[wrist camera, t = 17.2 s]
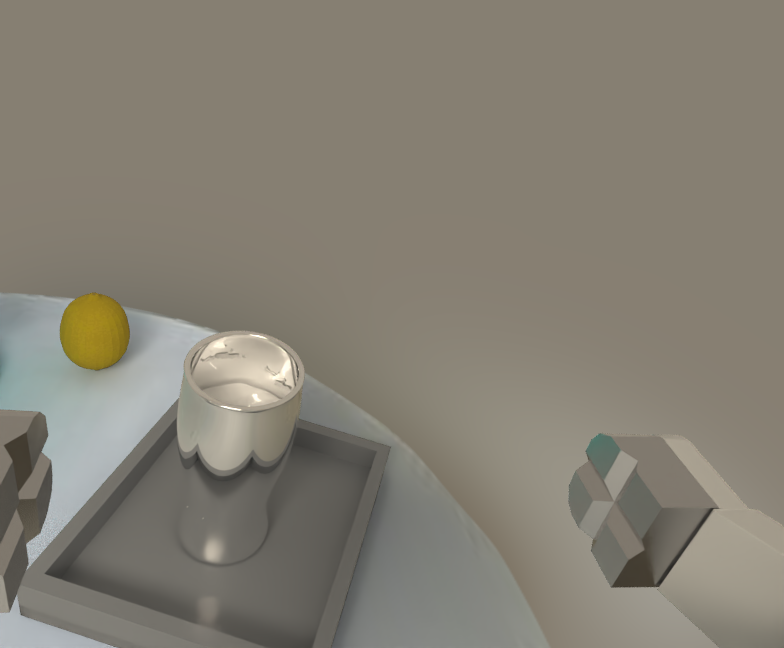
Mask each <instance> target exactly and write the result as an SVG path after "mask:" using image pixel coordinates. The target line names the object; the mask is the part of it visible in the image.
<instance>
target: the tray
mask: <svg viewBox="0 0 784 648" xmlns="http://www.w3.org/2000/svg"><path fill="white" fill-rule="evenodd" d="M178 402H179V398H178V399H177V401H176V402H175V403H174V404H173V405H172V406H171V407H170V408H169V410H168V411H167V412H166V413H165V414H164V415H163V416H162V418H161V419H160V420H159V421H158V422H157V423H156V424H155V425H154V427H153V428H152V429H151V430H150V431H149V432H148V433H147V435H146V436H145V437H144V438H143V439H142V440H141V441H140V442H139V444H138V445H137V446H136V447H135V448H134V449H133V450H132V452H131V453H130V454H129V455H128V456H127V457H126V458H125V459H124V461H123V462H122V463H121V464H120V465H119V466H118V467H117V469H116V470H115V471H114V472H113V473H112V474H111V475H110V476H109V478H108V479H107V480H106V481H105V482H104V483H103V484H102V486H101V487H100V488H99V489H98V490H97V491H96V492H95V493H94V495H93V496H92V497H91V498H90V499H89V500H88V501H87V503H86V504H85V505H84V506H83V507H82V508H81V509H80V510H79V512H78V513H77V514H76V515H75V516H74V517H73V518H72V520H71V521H70V522H69V523H68V524H67V525H66V526H65V527H64V529H63V530H62V531H61V532H60V533H59V534H58V535H57V537H56V538H55V539H54V540H53V541H52V542H51V543H50V544H49V546H48V547H47V548H46V549H45V550H44V551H43V552H42V554H41V555H40V556H39V557H38V558H37V559H36V560H35V561H34V563H33V564H32V565H31V566H30V567H29V568H28V569H27V571H26V572H25V574H24V576H23V579H22V582H21V584H20V587H19V589H18V592H17V596H18V601H19V607H20V613H21V615H22V616H25V617H28V618H31V619H34V620H37V621H40V622H43V623H46V624H49V625H52V626H55V627H58V628H61V629H64V630H67V631H70V632H73V633H76V634H79V635H82V636H85V637H88V638H91V639H94V640H97V641H100V642H103V643H106V644H109V645H112V646H115V647H118V648H331V646H332V643H333V640H334V636H335V633H336V630H337V626H338V623H339V620H340V616H341V613H342V610H343V606H344V603H345V600H346V596H347V593H348V590H349V586H350V583H351V579H352V576H353V573H354V569H355V566H356V563H357V559H358V556H359V553H360V549H361V546H362V543H363V539H364V536H365V533H366V529H367V526H368V523H369V519H370V516H371V513H372V509H373V506H374V503H375V499H376V496H377V492H378V489H379V486H380V482H381V479H382V476H383V472H384V469H385V465H386V462H387V458H388V455H389V451H390V448H391V447H389V446H386V445H383V444H380V443H376V442H373V441H370V440H366V439H363V438H360V437H356V436H353V435H350V434H347V433H343V432H340V431H337V430H333V429H330V428H327V427H323V426H320V425H317V424H314V423H310V422H307V421H304V420H300V419H299V421H298V427H297V431H296V435H295V439H294V443H293V446H292V449H291V452H290V454H289V456H288V459H287V461H286V464H285V466H284V468H283V470H282V472H281V474H280V476H279V478H278V480H277V482H276V484H275V486H274V488H273V489H272V492H271V494H270V496H269V499H268V516H269V527H268V532H267V535H266V538H265V540H264V542H263V543H262V545H261V546H260V548H259V549H258V550H257V551H256V552H255V553H254V554H252V555H251V556H250V557H248V558H246V559H245V560H242V561H240V562H237V563H234V564H229V565H213V564H208V563H205V562H202V561H200V560H198V559H196V558H194V557H193V556H192V555H190V554H189V553H188V552H187V550H186V549H185V548H184V546H183V545H182V543H181V540H180V537H179V533H178V524H179V518H180V515H181V512H182V509H183V507H184V504H185V502H186V497H187V490H186V485H185V480H184V476H183V472H182V467H181V462H180V458H179V451H178V444H177V412H178Z"/></svg>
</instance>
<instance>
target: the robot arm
mask: <svg viewBox="0 0 784 648" xmlns="http://www.w3.org/2000/svg"><path fill="white" fill-rule="evenodd" d="M47 437H48V431H47V424H46V418H45V415H43V414H42V413H41V412H33V411H16V410H0V613H7V612H10V610H11V607H12V605H13V602H14V600H15V597H16V594H17V592H18V589H19V587H20V584H21V582H22V579H23V576H24V574H25V571H26V569H27V566H28V564H29V563H28V556H27V548H26V544H27V543H28V542H29V541H30V540H32V539H33V538H34V537H36V536H37V535H38V534H39V533H40V532H41V529H42V526H43V524H44V521H45V518H46V515H47V511H48V507H49V502H50V497H51V492H52V465H51V460H50V459H49V458H47V457H46V456H45V455H44V454H43V453H42V452H41V451H42V449H43V447H44V444H45V442H46V440H47ZM586 454H587V457H588V460H589V461H588V462H587V463H585V464H584V465H583V466H581V467H580V468H579V469H577V470H576V471H575V473H574V475H573V478H572V480H571V482H570V484H569V506H570V510H571V513H572V516H573V518H574V520H575V521H576V524H577V526H578V527H579V528H580V529H581V530H582V531H584V532H585V533H586V534H587V535H589V536H590V537H591V538H592V539H593V544H592V549H591V552H592V553H593V555H594V557H595V559H596V561H597V562H598V564H599V566H600V568H601V570H602V572H603V573H604V575H605V577H606V579H607V581H608V583H609V584H610V586H611V587H659V588H658V589H657V590H658V591H659V592H660V593H661V594H662V595H663V596H665V597H666V598H667V599H668V600H669V601H670V602H671V603H672V604H673V605H674V606H675V607H676V608H677V609H679V610H680V611H681V612H682V613H683V614H684V615H685V616H686V617H687V618H688V619H689V620H690V621H691V622H692V623H694V624H695V625H696V626H697V627H698V628H699V629H700V630H701V631H702V632H703V633H704V634H705V635H706V636H707V637H709V638H710V639H711V640H712V641H713V642H714V643H715V644H716V645H717V646H718V647H719V648H784V526H783V525H781V524H780V523H778V522H777V521H775V520H773V519H772V518H770V517H768V516H767V515H765V514H763V513H762V512H760V511H759V510H757V509H748V508H747V506H746V505H745V504H744V503H743V502H742V501H741V499H740V498H739V497H738V496H737V495H736V494H735V493H734V491H733V490H732V489H731V488H730V487H729V486H728V485H727V483H726V482H725V481H724V480H723V479H722V478H721V476H719V474H718V473H717V472H716V471H715V470H714V468H713V467H712V466H711V465H710V464H709V463H708V461H707V460H706V459H705V458H704V457H703V456H702V455H701V454H700V452H699V451H698V450H697V449H696V448H695V446H693V444H692V443H691V442H690V441H689V440H687V439H686V438H684V437H682V436H680V435H635V434H601V433H600V434H598V435H597V436H596V437H594V438H593V439H592V440H591V442H590V444H589V446H588V448H587V449H586Z"/></svg>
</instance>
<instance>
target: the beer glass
mask: <svg viewBox="0 0 784 648" xmlns="http://www.w3.org/2000/svg"><path fill="white" fill-rule="evenodd" d="M304 378H305V371H304V367H303V363H302V361H301V360H300V358H299V356H298V355H297V354H296V353H295V351H294V350H292V349H291V348H290V347H289V346H288V345H286V344H285V343H283V342H282V341H280V340H278V339H276V338H273V337H271V336H268V335H265V334H261V333H257V332H251V331H229V332H222V333H218V334H215V335H212V336H209V337H207V338H205V339H203V340H201V341H200V342H199V343H197V344H196V345H195V346H194V347H193V348H192V349H191V350H190V351H189V353H188V354H187V356H186V359H185V362H184V373H183V378H182V384H181V389H180V395H179V402H178V412H177V444H178V451H179V458H180V462H181V467H182V472H183V476H184V480H185V485H186V490H187V497H186V502H185V504H184V507H183V509H182V512H181V515H180V518H179V524H178V533H179V537H180V540H181V543H182V545H183V546H184V548H185V549H186V550H187V552H188V553H189V554H190V555H192V556H193V557H194V558H196V559H198V560H200V561H202V562H205V563H208V564H213V565H229V564H234V563H237V562H240V561H242V560H245V559H246V558H248V557H250V556H251V555H252V554H254V553H255V552H256V551H257V550H258V549H259V548H260V546H261V545H262V543H263V542H264V540H265V538H266V535H267V532H268V527H269V516H268V499H269V496H270V494H271V492H272V489H273V488H274V486H275V484H276V482H277V480H278V478H279V476H280V474H281V472H282V470H283V468H284V466H285V464H286V461H287V459H288V456H289V454H290V452H291V449H292V446H293V443H294V439H295V435H296V431H297V427H298V421H299V415H300V408H301V399H302V388H303V382H304Z"/></svg>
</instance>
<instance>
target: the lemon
mask: <svg viewBox="0 0 784 648" xmlns="http://www.w3.org/2000/svg"><path fill="white" fill-rule="evenodd" d="M129 337H130V331H129V324H128V320H127V316H126V314H125V312H124V310H123V308H122V307H121V306H120V305H119V304H118V302H116V301H115V300H114V299H112V298H110V297H108V296H105V295H102V294H97V293H90V294H87V295H83V296H81V297H78V298H77V299H75V300H74V301H72V302H71V303H70V304H69V305H68V307H67V308H66V309H65V311H64V313H63V316H62V320H61V325H60V340H61V344H62V347H63V350H64V352H65V354H66V355H67V356H68V358H69V359H70V360H71V361H72V362H74V363H75V364H77V365H78V366H80V367H83V368H86V369H94V370H100V369H103V368H107V367H109V366H111V365H113V364H115V363H116V362H117V361H119V360H120V358H121V357H122V356H123V355H124V353H125V352H126V349H127V346H128V343H129Z"/></svg>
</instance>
